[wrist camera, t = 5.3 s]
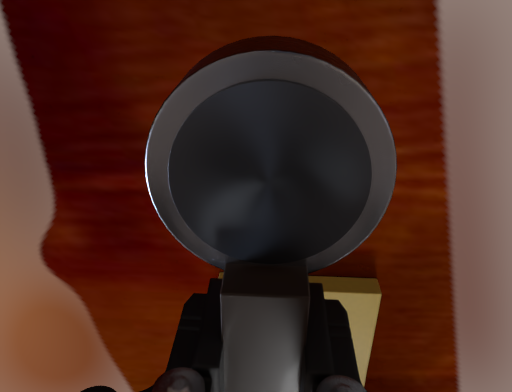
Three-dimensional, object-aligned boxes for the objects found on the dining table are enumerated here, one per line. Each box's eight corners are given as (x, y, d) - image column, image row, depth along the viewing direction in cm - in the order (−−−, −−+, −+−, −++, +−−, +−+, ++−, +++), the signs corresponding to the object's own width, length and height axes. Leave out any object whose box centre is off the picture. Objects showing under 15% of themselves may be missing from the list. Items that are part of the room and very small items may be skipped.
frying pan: (153, 32, 11) (108, 58, 8) (397, 37, 11) (439, 65, 8) (187, 400, 17) (170, 485, 15) (337, 408, 17) (349, 495, 14)
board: (219, 271, 28) (216, 286, 26) (377, 278, 27) (382, 293, 26) (224, 430, 35) (222, 448, 34) (348, 437, 35) (351, 455, 34)
